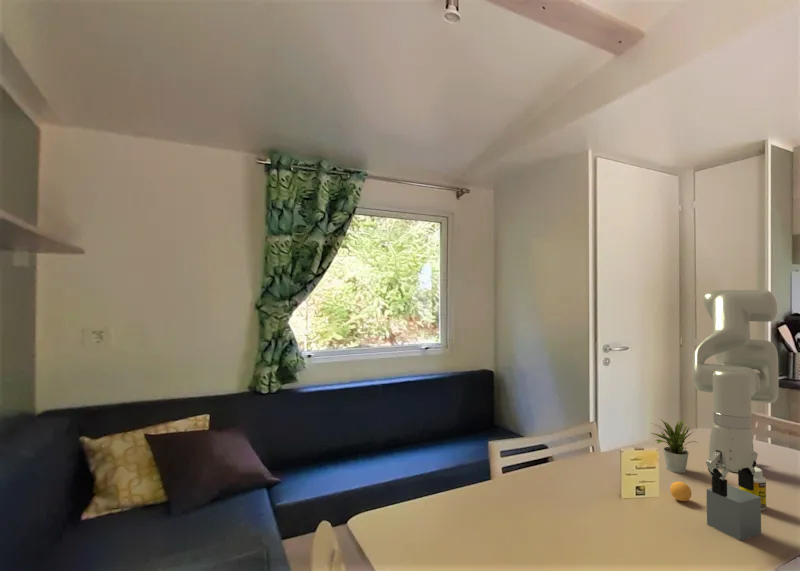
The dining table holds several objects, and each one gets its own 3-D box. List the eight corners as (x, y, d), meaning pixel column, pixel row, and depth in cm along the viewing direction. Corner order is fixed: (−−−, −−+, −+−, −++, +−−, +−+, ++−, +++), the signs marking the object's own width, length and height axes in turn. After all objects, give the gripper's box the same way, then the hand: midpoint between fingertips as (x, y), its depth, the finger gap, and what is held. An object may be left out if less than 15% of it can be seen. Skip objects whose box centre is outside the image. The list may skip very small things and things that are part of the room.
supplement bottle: (761, 513, 115) (761, 474, 115) (736, 504, 120) (735, 467, 120) (769, 507, 118) (769, 469, 118) (744, 499, 123) (744, 462, 123)
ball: (678, 494, 126) (678, 477, 126) (695, 502, 121) (695, 484, 121) (666, 498, 124) (665, 480, 124) (683, 506, 119) (682, 487, 119)
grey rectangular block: (727, 518, 113) (726, 483, 113) (761, 533, 106) (760, 497, 106) (707, 524, 110) (706, 489, 110) (740, 540, 103) (739, 503, 103)
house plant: (657, 456, 154) (656, 409, 154) (704, 467, 144) (704, 417, 145) (645, 468, 144) (644, 418, 144) (694, 481, 134) (694, 427, 134)
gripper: (738, 413, 114) (739, 480, 114) (692, 420, 108) (693, 490, 108) (771, 421, 107) (772, 492, 107) (724, 428, 101) (725, 504, 101)
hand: (733, 491), depth 107 cm, fingers open, 9 cm apart
